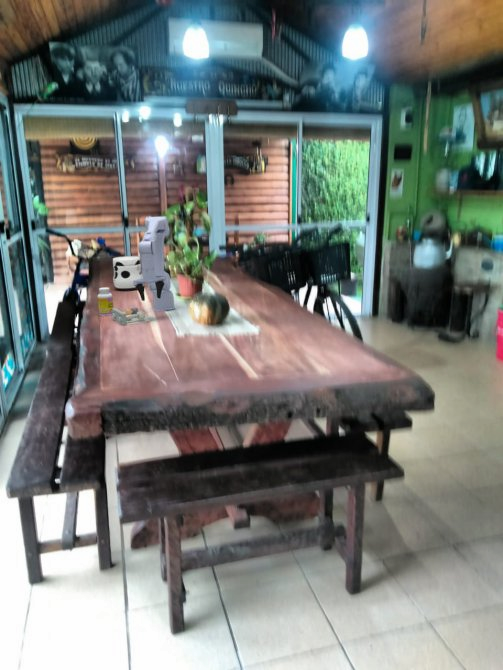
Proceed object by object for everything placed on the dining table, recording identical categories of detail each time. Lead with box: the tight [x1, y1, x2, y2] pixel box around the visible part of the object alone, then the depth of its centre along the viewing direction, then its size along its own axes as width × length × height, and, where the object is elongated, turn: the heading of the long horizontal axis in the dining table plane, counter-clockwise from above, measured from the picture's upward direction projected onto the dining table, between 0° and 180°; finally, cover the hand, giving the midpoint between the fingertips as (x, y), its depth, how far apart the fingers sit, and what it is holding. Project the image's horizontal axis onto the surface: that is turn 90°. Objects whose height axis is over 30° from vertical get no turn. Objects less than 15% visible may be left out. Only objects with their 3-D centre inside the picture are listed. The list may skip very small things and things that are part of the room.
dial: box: [124, 308, 132, 321], centre depth 231 cm, size 2×2×5 cm
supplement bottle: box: [97, 287, 114, 317], centre depth 243 cm, size 7×7×13 cm
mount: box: [111, 307, 156, 326], centre depth 233 cm, size 15×14×6 cm
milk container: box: [112, 255, 144, 291], centre depth 304 cm, size 17×17×18 cm
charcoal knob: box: [112, 307, 139, 318], centre depth 235 cm, size 11×4×4 cm, turn 123°
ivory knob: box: [119, 310, 146, 321], centre depth 228 cm, size 11×4×4 cm, turn 123°
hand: (151, 299), depth 232 cm, fingers open, 7 cm apart
